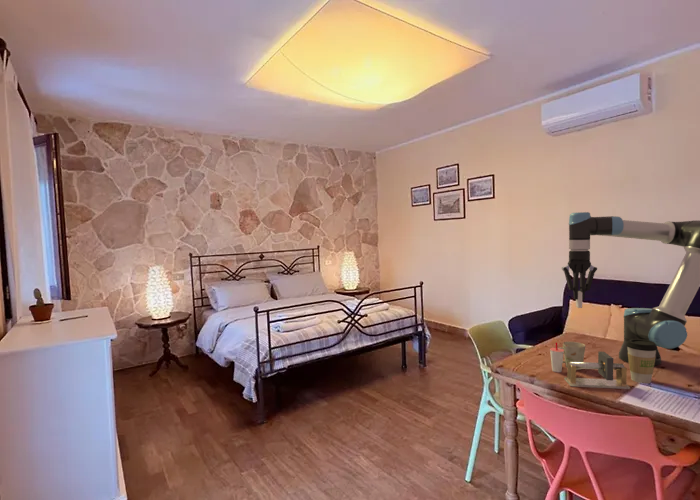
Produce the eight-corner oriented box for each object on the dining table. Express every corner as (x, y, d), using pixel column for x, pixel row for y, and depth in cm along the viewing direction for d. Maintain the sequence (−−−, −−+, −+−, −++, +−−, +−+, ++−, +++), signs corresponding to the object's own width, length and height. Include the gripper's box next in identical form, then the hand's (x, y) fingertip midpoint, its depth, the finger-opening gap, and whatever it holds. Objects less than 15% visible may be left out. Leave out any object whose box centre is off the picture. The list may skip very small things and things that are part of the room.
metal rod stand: (621, 381, 154) (621, 360, 154) (630, 389, 147) (630, 366, 147) (564, 379, 158) (564, 358, 158) (570, 386, 151) (570, 364, 151)
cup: (550, 372, 166) (550, 343, 165) (548, 368, 171) (548, 340, 170) (565, 373, 164) (565, 344, 163) (563, 369, 169) (563, 341, 168)
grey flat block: (603, 372, 156) (604, 351, 155) (613, 380, 148) (613, 358, 147) (598, 372, 156) (598, 351, 156) (607, 380, 148) (607, 358, 148)
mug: (588, 371, 166) (588, 347, 165) (555, 370, 168) (555, 346, 168) (581, 364, 174) (581, 341, 173) (549, 363, 176) (549, 340, 176)
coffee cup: (658, 387, 148) (659, 347, 147) (626, 382, 154) (626, 343, 153) (655, 378, 157) (656, 340, 156) (624, 374, 162) (625, 337, 161)
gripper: (593, 249, 167) (592, 305, 169) (559, 249, 170) (559, 305, 171) (600, 250, 160) (600, 309, 161) (565, 250, 162) (564, 308, 164)
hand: (579, 307), depth 166 cm, fingers closed
